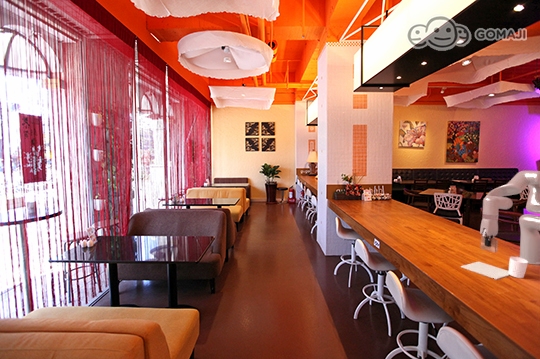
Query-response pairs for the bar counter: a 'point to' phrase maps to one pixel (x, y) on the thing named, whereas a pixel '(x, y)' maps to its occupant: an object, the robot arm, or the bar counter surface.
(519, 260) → the white cup
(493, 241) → the tile
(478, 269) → the mat
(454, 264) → the bar counter surface
